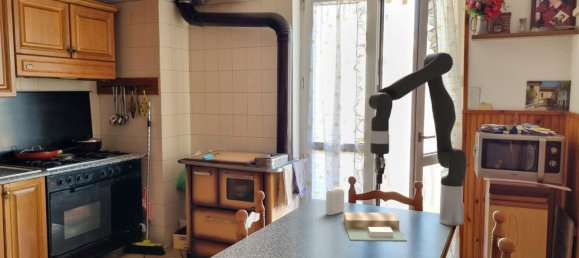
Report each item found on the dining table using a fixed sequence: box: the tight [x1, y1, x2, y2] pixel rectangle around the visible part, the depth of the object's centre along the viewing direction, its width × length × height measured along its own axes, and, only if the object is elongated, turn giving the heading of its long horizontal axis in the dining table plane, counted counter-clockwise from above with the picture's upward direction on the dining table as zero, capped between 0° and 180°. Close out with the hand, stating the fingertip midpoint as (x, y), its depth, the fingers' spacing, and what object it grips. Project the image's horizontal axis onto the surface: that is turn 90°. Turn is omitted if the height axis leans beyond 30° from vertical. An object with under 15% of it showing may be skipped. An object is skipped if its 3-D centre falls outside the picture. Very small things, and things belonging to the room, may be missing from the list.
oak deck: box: [343, 211, 400, 230], centre depth 189 cm, size 22×12×4 cm, turn 88°
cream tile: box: [368, 227, 393, 237], centre depth 176 cm, size 9×6×2 cm, turn 88°
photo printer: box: [325, 186, 345, 216], centre depth 208 cm, size 10×4×12 cm, turn 134°
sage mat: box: [346, 229, 408, 242], centre depth 176 cm, size 22×13×1 cm, turn 88°
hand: (379, 183), depth 179 cm, fingers closed
